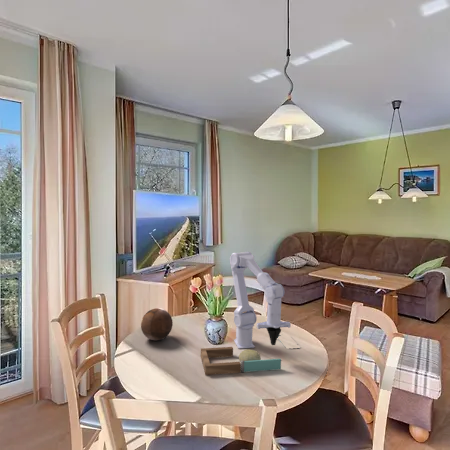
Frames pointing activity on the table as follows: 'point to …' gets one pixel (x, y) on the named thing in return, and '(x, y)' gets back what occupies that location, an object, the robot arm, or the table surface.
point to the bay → (219, 367)
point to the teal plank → (260, 365)
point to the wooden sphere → (156, 324)
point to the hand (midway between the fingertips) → (273, 344)
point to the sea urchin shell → (249, 355)
